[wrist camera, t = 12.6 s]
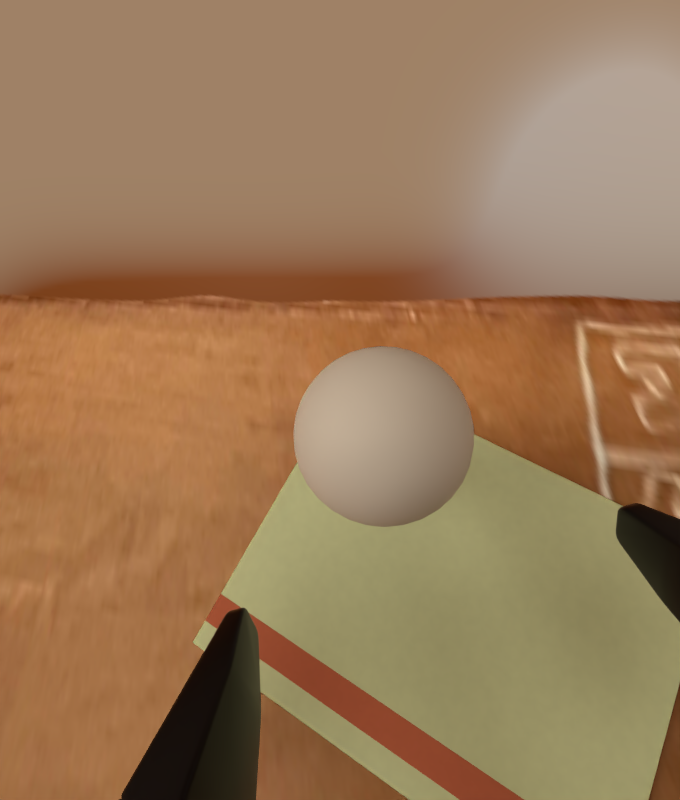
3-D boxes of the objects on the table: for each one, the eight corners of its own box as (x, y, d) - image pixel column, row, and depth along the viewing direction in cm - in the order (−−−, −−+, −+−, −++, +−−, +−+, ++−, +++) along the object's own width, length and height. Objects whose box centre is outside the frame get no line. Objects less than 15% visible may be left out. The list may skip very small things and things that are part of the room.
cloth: (710, 550, 19) (715, 550, 19) (605, 938, 15) (610, 946, 15) (348, 375, 23) (348, 373, 23) (194, 640, 19) (192, 642, 19)
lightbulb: (413, 548, 20) (459, 566, 9) (304, 501, 21) (237, 471, 11) (450, 437, 21) (524, 349, 11) (347, 400, 23) (326, 287, 12)
